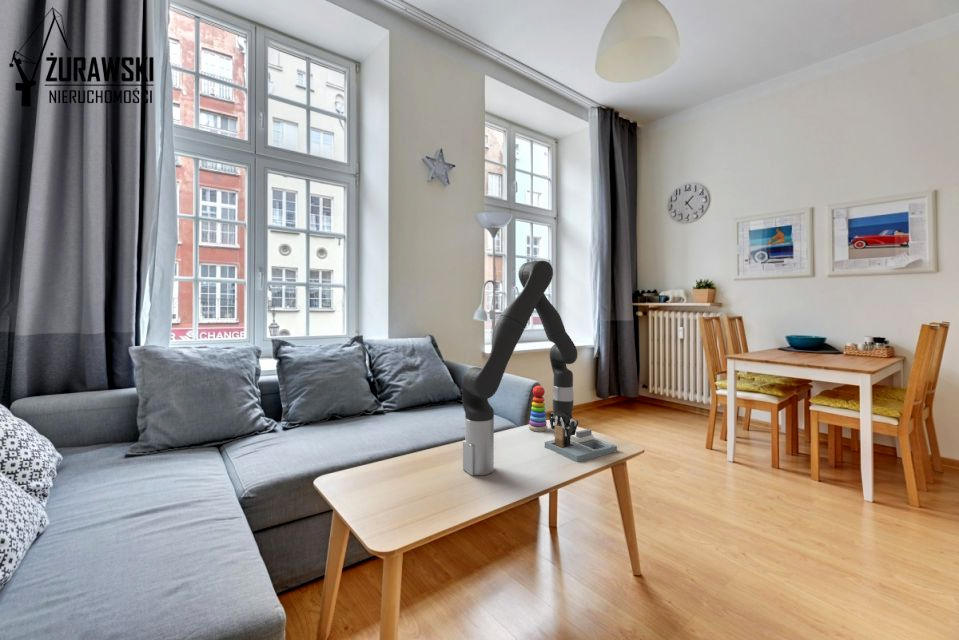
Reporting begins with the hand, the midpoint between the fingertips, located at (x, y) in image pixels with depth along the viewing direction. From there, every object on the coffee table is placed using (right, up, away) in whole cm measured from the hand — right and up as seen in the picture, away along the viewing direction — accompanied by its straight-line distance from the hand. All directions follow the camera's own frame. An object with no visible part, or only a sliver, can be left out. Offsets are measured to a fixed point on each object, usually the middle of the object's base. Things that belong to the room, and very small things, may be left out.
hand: (562, 443), depth 152 cm
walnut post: (0, -2, 0) cm, 2 cm away
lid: (+7, 0, +6) cm, 9 cm away
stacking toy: (-6, -1, +25) cm, 25 cm away
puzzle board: (+7, -2, +1) cm, 7 cm away
